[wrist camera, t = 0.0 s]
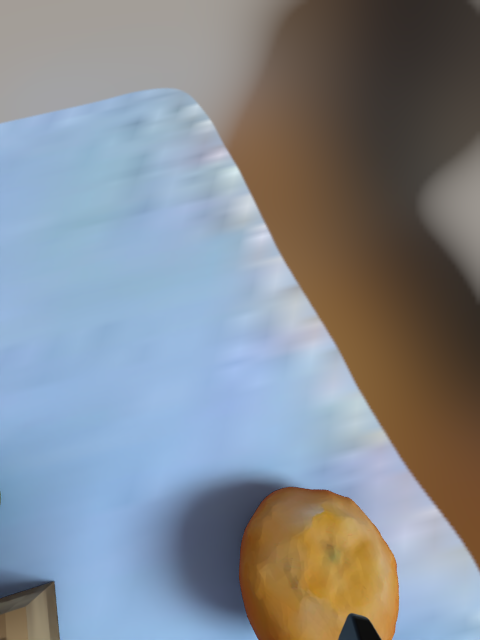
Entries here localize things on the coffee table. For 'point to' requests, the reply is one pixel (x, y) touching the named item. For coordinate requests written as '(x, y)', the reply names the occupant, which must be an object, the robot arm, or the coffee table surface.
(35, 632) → the tray
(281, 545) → the fruit
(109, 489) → the coffee table surface
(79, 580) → the coffee table surface
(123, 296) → the coffee table surface
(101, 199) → the coffee table surface
